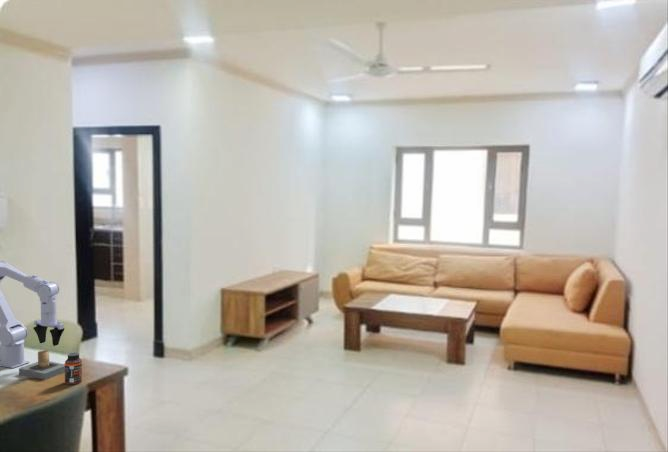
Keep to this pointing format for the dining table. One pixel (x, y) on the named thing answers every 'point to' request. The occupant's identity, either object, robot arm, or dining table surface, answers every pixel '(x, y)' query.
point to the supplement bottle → (73, 369)
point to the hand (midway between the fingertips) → (49, 343)
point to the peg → (43, 359)
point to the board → (42, 370)
